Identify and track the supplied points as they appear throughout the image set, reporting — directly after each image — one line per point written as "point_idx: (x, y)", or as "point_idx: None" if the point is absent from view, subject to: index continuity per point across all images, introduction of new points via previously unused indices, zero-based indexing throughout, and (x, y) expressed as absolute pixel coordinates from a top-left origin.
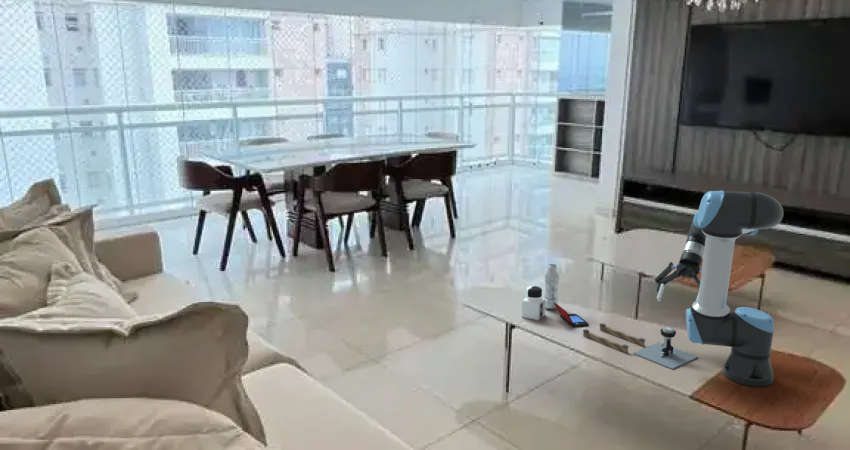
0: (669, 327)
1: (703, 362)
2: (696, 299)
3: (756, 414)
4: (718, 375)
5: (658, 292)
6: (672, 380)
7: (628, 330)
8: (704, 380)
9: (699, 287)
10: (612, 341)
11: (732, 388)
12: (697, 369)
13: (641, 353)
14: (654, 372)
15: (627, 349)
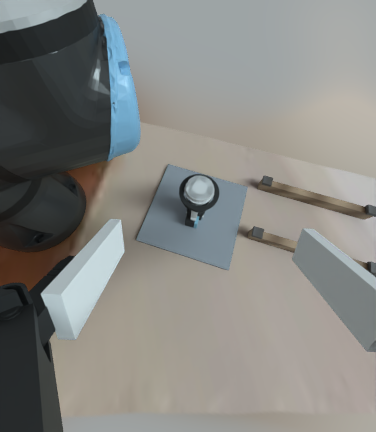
0: (200, 196)
1: (123, 225)
2: (102, 240)
3: None
4: (94, 186)
5: (338, 249)
6: (159, 134)
7: (319, 310)
8: (115, 157)
9: (44, 364)
10: (299, 193)
11: None
12: (130, 189)
13: (234, 191)
14: (190, 143)
15: (260, 184)
